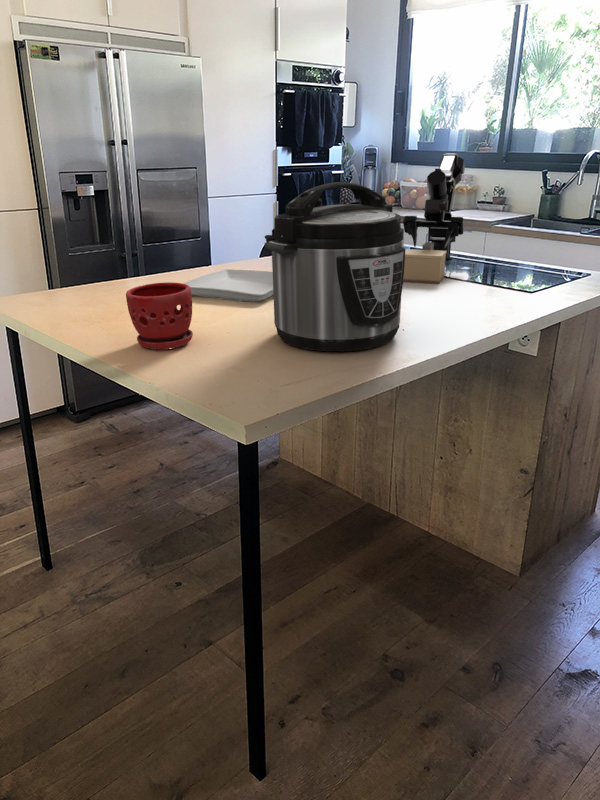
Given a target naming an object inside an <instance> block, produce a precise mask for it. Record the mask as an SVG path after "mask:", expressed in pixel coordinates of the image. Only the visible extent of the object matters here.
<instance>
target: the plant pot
mask: <svg viewBox="0 0 600 800" xmlns="http://www.w3.org/2000/svg"><path fill="white" fill-rule="evenodd" d="M183 283H184V282H174V281H173V282H171V281H170V282H156V283H155V282H154V283H149V284H148V283H147V284H142V285H138V286H135V287H132V288H130V289H128V290H127V291H126V293H125V299H126V305H127V310H128V313H129V316H130V320H131V323H132V325H133V327H134V329H135V331H136V332H137V334H138V335H137V336H136V341H137V343H138V344H139V345H140V346H142V347H143V348H145V347H146V349H149V348H151V349H150V350H156V349H162V350H168V349H169V348H172V349H176V348H180V347H182V346H184V345H186V344H188V343H189V342H190V341H191V340H192V339H193V336H194V332H193V331H192V330H191V329H190V325H191V324H192V317H193V297H192V294H191V289H190V286H189V285H186V284H183ZM178 306H180V307H179V309H178Z"/></svg>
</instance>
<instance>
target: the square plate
mask: <svg viewBox="0 0 600 800" xmlns="http://www.w3.org/2000/svg"><path fill="white" fill-rule="evenodd" d="M182 283H183V284H186V285H189V286H190V289H191V295H193V296H194V295H195V296H197V297H201V296H204V297H203V298H209V297H214V298H213V299H219V298H223V299H222V300H229V299H232V300H231V301H238V300H241V302H260V301H261V302H262V301H263V300H265V299H268V298H269V297H272V296H273V271H266V270H250V269H234V268H233V269H228V268H226V269H222V270H218V271H214V272H211V273H208V274H204V275H201V276H199V277H196V278H193V279H191V280H190V279H189V280H187V281H186V282H182Z"/></svg>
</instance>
